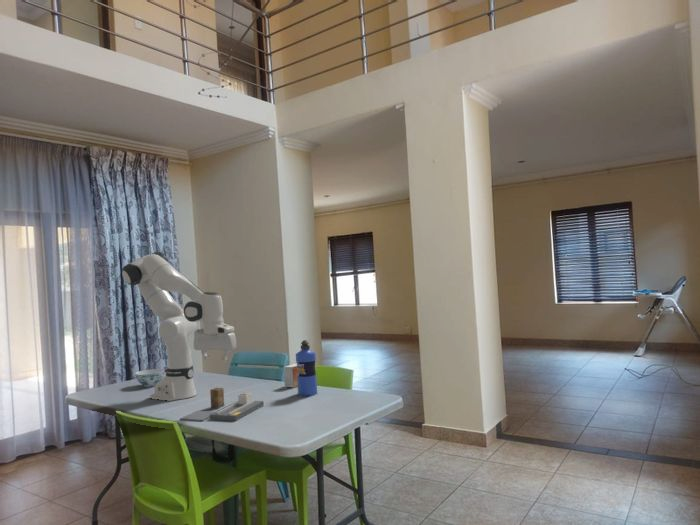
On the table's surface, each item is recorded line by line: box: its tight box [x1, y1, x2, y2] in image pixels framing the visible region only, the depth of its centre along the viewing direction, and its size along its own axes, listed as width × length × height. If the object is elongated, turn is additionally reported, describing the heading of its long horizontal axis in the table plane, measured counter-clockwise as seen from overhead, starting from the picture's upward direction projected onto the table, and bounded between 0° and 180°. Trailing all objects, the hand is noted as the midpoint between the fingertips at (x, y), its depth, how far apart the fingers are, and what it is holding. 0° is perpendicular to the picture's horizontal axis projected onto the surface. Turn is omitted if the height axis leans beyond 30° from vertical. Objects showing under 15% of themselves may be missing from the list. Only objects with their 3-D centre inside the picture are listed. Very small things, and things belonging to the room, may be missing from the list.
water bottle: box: [295, 339, 318, 397], centre depth 231 cm, size 9×9×25 cm
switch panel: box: [209, 400, 265, 422], centre depth 205 cm, size 12×22×3 cm, turn 161°
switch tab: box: [237, 391, 253, 405], centre depth 211 cm, size 4×4×4 cm
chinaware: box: [134, 368, 165, 388], centre depth 268 cm, size 15×15×8 cm
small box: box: [283, 363, 298, 389], centre depth 248 cm, size 8×6×10 cm
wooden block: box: [209, 387, 225, 409], centre depth 215 cm, size 4×4×8 cm
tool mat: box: [179, 410, 215, 422], centre depth 202 cm, size 11×11×1 cm
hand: (215, 360), depth 216 cm, fingers open, 8 cm apart
